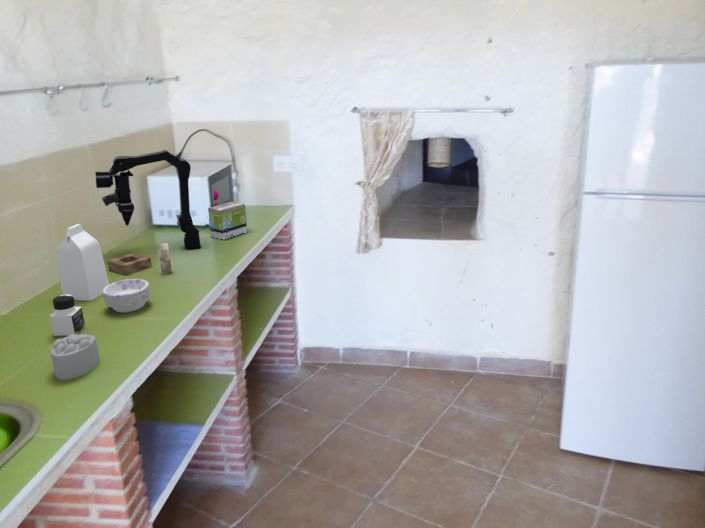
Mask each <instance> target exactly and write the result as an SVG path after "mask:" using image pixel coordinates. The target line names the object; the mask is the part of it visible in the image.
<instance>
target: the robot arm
mask: <svg viewBox="0 0 705 528" xmlns="http://www.w3.org/2000/svg"><path fill="white" fill-rule="evenodd" d="M163 161H164V162H167V163H168V164H170V165H172V166H174V168H175V172H176V175H177V179H178V189H179V207H180V211H179V214H176V220H177V221H176V224H177V226H178V228H179V230H181V232H182V233H183V234H184V237H182V238H183V244H184V248H185V249H186V250H195V249H202V246H201V240H200V230H199V229H198V228H197V226H196V225H195V224H194V222H193V219H192V214H191V211H190V210H191V209H190V192H189V191H190V190H189V188H190V187H189V179H190V174H191V167H192V166H191V164H190V163H189V162H188V161H187V160H186V159H185V158H179V157H178V156H176V155H174V154H172V152H170V151H168V150H166V149H163V150H160V151H155V152H150V153H149V152H148V153H143V154H139V155H134V156H133V155H132V156H131V155H117V156H116V157H114V158H113V160H112V166H111V167H110V168H109V169H108V171H97V170H95V172H94V174H95V185H96V189H106V188H107V189H109V188H112V186H114V187H115V188H114V192H113V193H109V194H107V195H105V196H103V197H101V199H102V201H103V202H102V203H103V204H104V206H105V207H107V206H110V205H112V204H114V203H115V206H116V207H117V210H118V212H119V213H120V214H121V217H122V220H123V222H124V224H125V226H127V227H128V226H129V225H130V222H131V219H132V216H133V214H134V211H135V205H134V203H133V201H132V196H131V194H132V191H131V186H130V185H131V184H130V177H134V173H132V172H131V171H130V170H131V169H133V168H135V167H139V166H142V165H148V164H153V163H158V162H163ZM118 173H119V174H118Z"/></svg>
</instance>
